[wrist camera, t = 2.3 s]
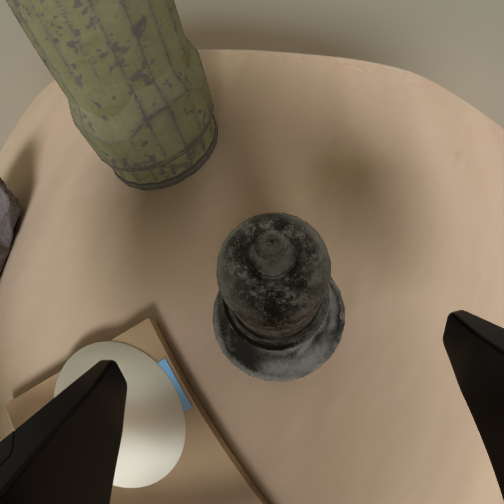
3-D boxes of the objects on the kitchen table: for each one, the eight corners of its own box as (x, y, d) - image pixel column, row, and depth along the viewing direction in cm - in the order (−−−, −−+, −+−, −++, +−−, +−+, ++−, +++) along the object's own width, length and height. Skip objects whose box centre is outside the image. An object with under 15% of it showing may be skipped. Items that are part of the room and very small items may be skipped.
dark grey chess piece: (339, 282, 18) (412, 143, 7) (324, 386, 16) (404, 416, 5) (238, 267, 19) (173, 117, 7) (216, 367, 17) (94, 355, 5)
